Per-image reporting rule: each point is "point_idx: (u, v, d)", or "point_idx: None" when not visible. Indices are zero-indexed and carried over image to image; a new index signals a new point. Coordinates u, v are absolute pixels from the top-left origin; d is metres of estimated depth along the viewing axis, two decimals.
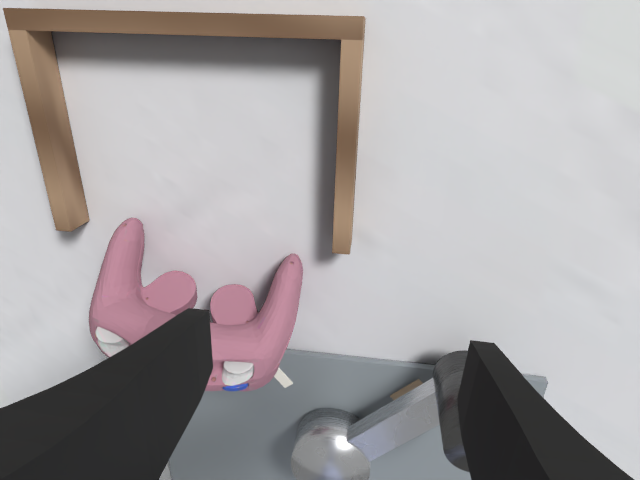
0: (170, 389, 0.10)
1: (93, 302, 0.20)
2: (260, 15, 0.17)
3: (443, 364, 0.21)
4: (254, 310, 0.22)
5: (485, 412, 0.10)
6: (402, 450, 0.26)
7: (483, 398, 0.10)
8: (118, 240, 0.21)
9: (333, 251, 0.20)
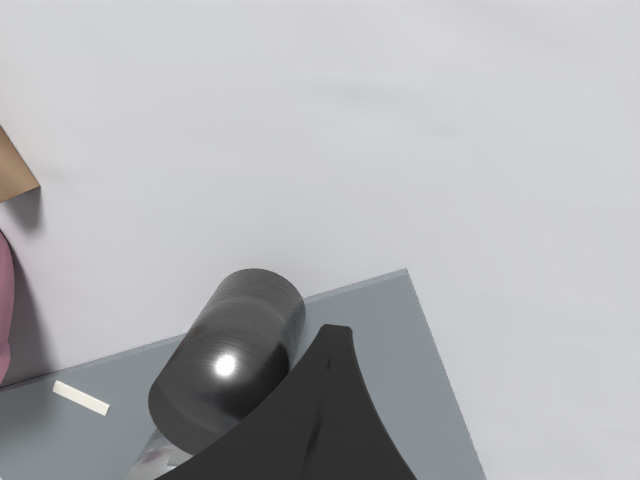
0: None
1: None
2: None
3: None
4: None
5: None
6: None
7: None
8: None
9: None
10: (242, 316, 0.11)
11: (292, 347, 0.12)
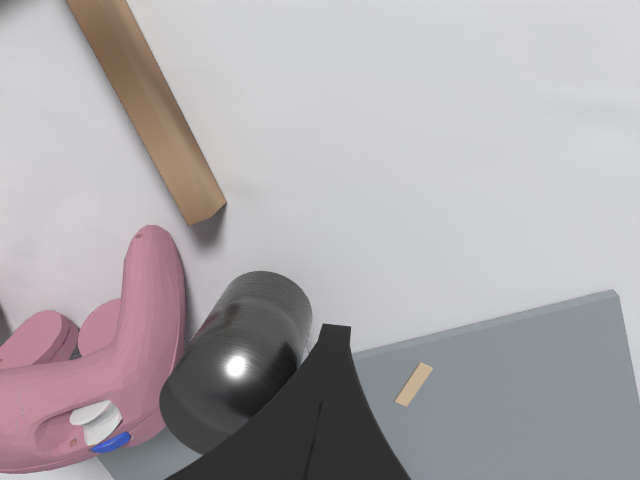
0: None
1: None
2: None
3: None
4: None
5: None
6: (454, 471, 0.18)
7: None
8: None
9: (188, 223, 0.13)
10: (213, 320, 0.12)
11: (278, 319, 0.12)
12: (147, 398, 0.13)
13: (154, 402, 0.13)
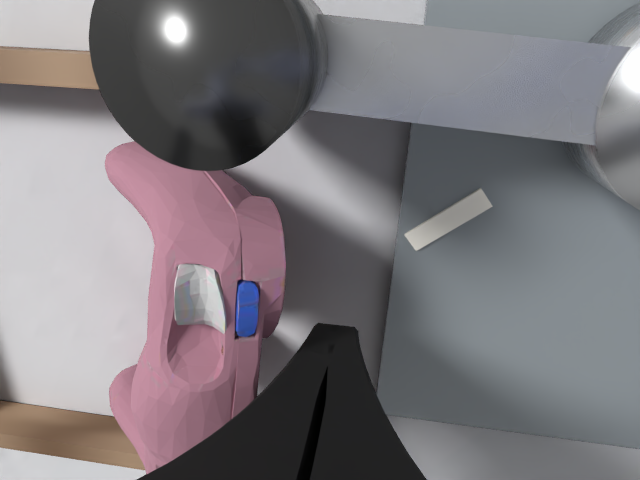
0: (323, 410, 0.10)
1: None
2: None
3: None
4: None
5: None
6: None
7: None
8: (112, 407, 0.15)
9: None
10: None
11: None
12: (215, 229, 0.09)
13: (230, 227, 0.09)
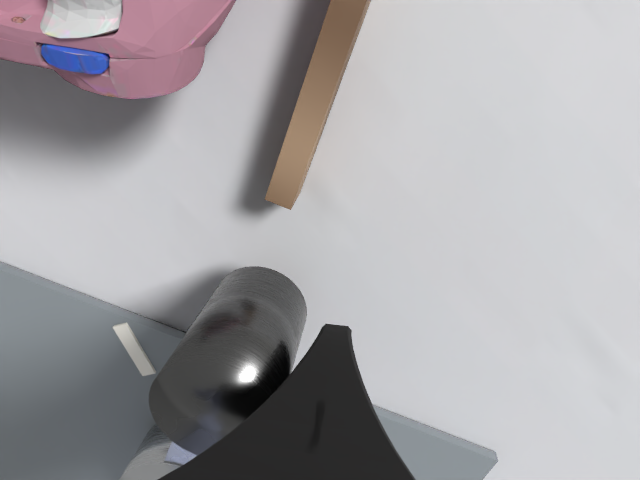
0: None
1: None
2: None
3: None
4: None
5: None
6: None
7: None
8: None
9: (267, 197, 0.13)
10: (244, 314, 0.11)
11: (293, 346, 0.12)
12: (164, 30, 0.09)
13: (167, 46, 0.09)
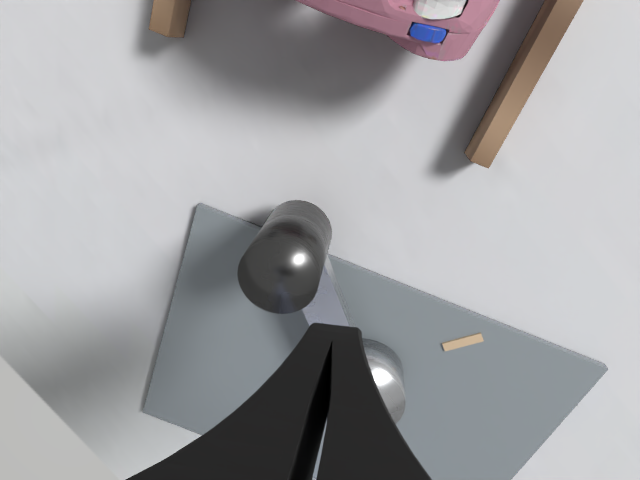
0: (318, 409, 0.10)
1: None
2: None
3: None
4: None
5: (329, 392, 0.10)
6: (425, 404, 0.25)
7: (330, 379, 0.10)
8: None
9: (472, 159, 0.18)
10: (267, 225, 0.17)
11: (311, 225, 0.17)
12: (481, 15, 0.13)
13: (478, 25, 0.14)
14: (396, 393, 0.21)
